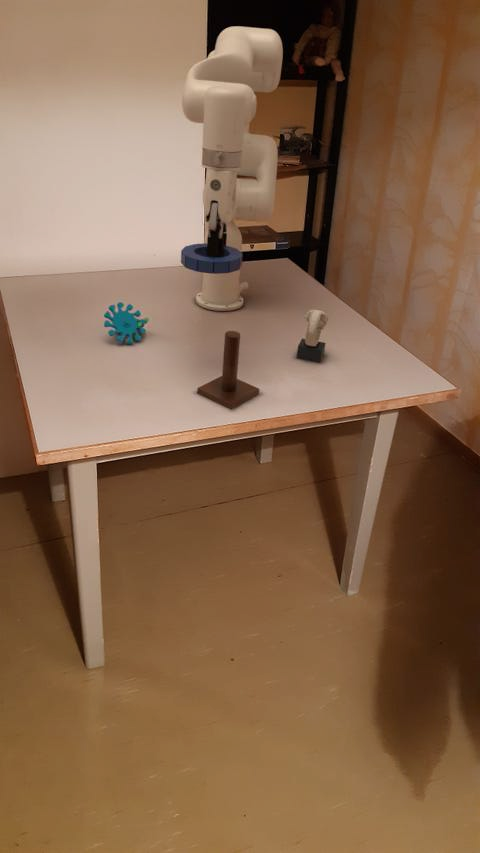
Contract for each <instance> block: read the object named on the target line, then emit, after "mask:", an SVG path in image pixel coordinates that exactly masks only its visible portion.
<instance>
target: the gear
mask: <svg viewBox="0 0 480 853" xmlns="http://www.w3.org/2000/svg"><path fill="white" fill-rule="evenodd" d="M124 305H125V304H124V303H123V302H121V301H119V302H117V304H116V306H115V304H110V305H109V306H108V310H109V311H105V313H104V314H103V317H104V318H106V319H107V320H105V321H104V323H103V327H104V328H112V329H109V330H108V332H107V333H108V335H109V337H113V336H114V335H117V334H120V335H118V336H117V337H116V339H115V340H116V342H118V343H120V344H121V343H122V342H123V341H124V337H125V336H127V337H128V338H127V339H125V343H126V344H128V345H132V344H133V342H134V341H135V342H140V341H141V339H142V335H144V334H145V333H146V329H145V328H144V327H145V325H147V323H148V322H149V321H150V319H149V317H144V318H142V319H141V318H140V319H139V317H141V315H142V313H141V311H140V310H136V311H135V312H129V311H132V310H133V309H134V306H133V305H132V304H131V303H128V304H127V305H126V309H125V310H123V309H122V308H123V307H124ZM116 307H117V312H116ZM111 314H112V315H111ZM109 320H110V321H109ZM138 332H139V333H138ZM139 334H140V335H139ZM133 335H134V341H133Z"/></svg>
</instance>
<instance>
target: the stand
mask: <svg viewBox="0 0 480 853" xmlns="http://www.w3.org/2000/svg"><path fill="white" fill-rule="evenodd" d="M240 345H241V332H239V331H237V330H228V331H225V332H224V343H223V357H222V371H221V372H222V375H221V376H218V377H216V378H215V379H212V380H210V381H209V382H207V383H205V384H202V385H200V386H198V387H197V389H196V393H197V394H198V395H201V396H203V397H204V398H206V399H209V400H211V401H213V402H215V403H217V404H219V405H221V406H223V407H225V408H227V409H229V410H233V409H235V408H237V407H238V406H240V405H242V404H244V403H245V402H247V401H250V400H251V399H252V398H254V397H256V396H258V395H259V394H260V390H261V389H260V388H259V387H256V386H254V385H252V384H251V383H247V382H245V381H243V380H241V379H239V378H238V370H239V360H240V359H239V358H240Z"/></svg>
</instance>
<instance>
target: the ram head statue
mask: <svg viewBox="0 0 480 853" xmlns="http://www.w3.org/2000/svg"><path fill="white" fill-rule="evenodd" d="M304 319H305V320H306V322H307V327H306V332H305V338H301V340H300V341H299V343H298V345H297V350H296V359H299V360H304V361H308V362H309V361H310V362H312V363H313V362H314V363H320V364H321V362H322V360H323V357H324V356H325V351H326V350H325V349H326V343H327V342H323V341H320V338H321V333H322V331H324V328H325V327H326V326H327V324H328V322H329V316H328V314H327V313H326V312H324V311H323V310H320V309H311V310H309V311H307V314H305V315H304Z"/></svg>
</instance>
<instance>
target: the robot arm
mask: <svg viewBox="0 0 480 853" xmlns="http://www.w3.org/2000/svg"><path fill="white" fill-rule="evenodd" d="M283 54H284V48H283V41H282V39H281V36H280V35H279V33H278V32H277V31H276V30H274V29H272V28H261V27H251V26H242V25H241V26H240V25H238V26H229V27H227V28H224V29H223V30H222V31H221V32H220V33H219V35H218V36H217V38H216V42H215V46H214V50H212V51H211V52H209V54H208V56H207V58H205V59H202V60H201V61H198V62H196V63H195V64H194V65H193V66H192V67H191V68H190V69H189V71H188V73H187V75H186V78H185V82H184V86H183V90H182V97H181V107H182V112H183V114H184V117H185V118H186V119H187V120H188V121H190V122H192V123H195V124H202V146H201V147H202V148H201V167H202V168H204V169H206V171H205V172H206V173H205V184H204V185H203V190H202V206H203V220H204V238H203V239H204V240H203V244H205V243H207V256H208V257H215V258H222V256H223V245H226V246H230V247H233V248H236V249H238V250H239V251H240V252H241V253H242V248H243V237H242V233H241V230H240V229H239V227H238V226H237V224H236V223H235V222H234V221H245V222H246V221H247V222H259V223H263V222H268V221H269V220H270V219H271V218H272V216H273V214H274V209H275V203H276V202H275V201H276V188H277V186H276V185H277V176H278V175H277V174H278V161H279V160H278V159H279V157H278V156H279V155H278V152H279V150H278V146H277V145H278V144H277V142H276V141H275V139H274V138H273V137H272V136H270V135H265V134H255V133H250V123H251V122H252V120H253V119H254V118H255V116H256V113H257V109H258V108H257V105H258V100H257V95H256V94H255V92H258V93H273V92H274V91H276V90H277V88H278V86H279V83H280V80H281V74H282V66H283V58H284V57H283ZM238 176H245V177H253V178H256V179H246V178H238ZM240 275H241V268H240V269H239V270H237V271H234V272H231V273H222V274H214V273H213V274H210V273H202V282H201V283H202V284H201V291H200V292H198V293H197V294H196V295H195V303H196V304H197V305H198V306H200V307H201V308H204V309H206V310H210V311H215V312H216V311H217V312H229V311H235V310H238V309H240V308H241V307H243V306H244V298H243V297H242V295H241V292H242V291H244V290H247V289H249V283H248V282H246V281H243V282H241V283H240Z"/></svg>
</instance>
